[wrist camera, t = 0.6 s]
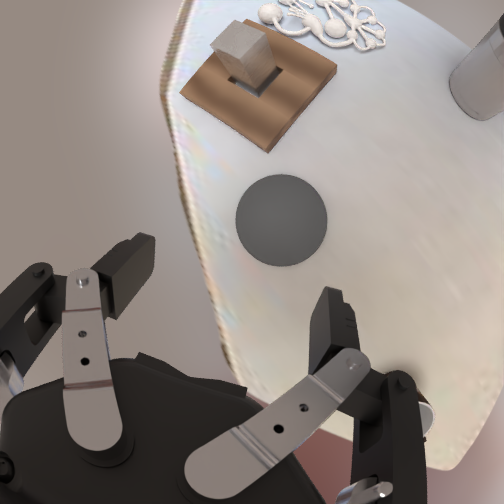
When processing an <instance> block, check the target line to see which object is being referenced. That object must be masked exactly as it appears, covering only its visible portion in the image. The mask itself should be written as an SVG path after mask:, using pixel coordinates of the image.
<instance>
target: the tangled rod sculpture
mask: <svg viewBox="0 0 504 504" xmlns="http://www.w3.org/2000/svg"><path fill="white" fill-rule="evenodd" d="M278 1H279V2H281V3H282V4H285V5H289V6H290V7H291V8H289V11H293V12H295V13H296V14H291V13H287V15H288V16H296V17H300V18H302V24H303V25H304V26H305V27H306V28H304V29H302V30H300V31H297V32H291V31H286V30H284V29H283V28H282V27H281V26H280V25H279V23H278V21H280V20H281V18H282V15H283V12H282V9H281V8H280V7H279V6H278V5H276V4H272V3H267V4H264V5H262V6H261V7H260V8H259V10H258V16H259V18H260V20H261V21H263V22H265V23H268V24H273V23H274V25H275V27H276V28H277V30H279V31H280V32H281V33H283V34H285V35H291V36H298V35H302V34H304V33H306V32H308V31H309V30H311V31H312V32H313V33H314V35H316V36H317V37H319V39H320V40H321V41H322V42H323V43H324V44H326V45H328V46H330V47H342V46H346V45H349V44H351V43H353V42H354V44H355V46H356V47H357V48H358V49H360V50H368V49H369V48H371V49H373V48H375V47H376V46H385V45H386V41H385V39H384V38H385V32H386V28H385V26H384V25H383V24H382V23H380V22H379V21H377V19H376V17H375V13H374V11H373V10H372V9H371V8H369V7H367V6H358V5H357V4H356V2H355V1H354V0H351V1H352V2H353V4H352V5H351V6H350V10H351V11H352V12H354V14H353V17H352V16H350V15H348V14H346V13H345V12H343V11H342V10H341V9H340V8H339V7H337V6H336V5H335V4H334V3H333V2H337V3H339V4H340V6H341V7H348V6H349V1H348V0H315V1H316V3H317V4H318V5H320V6H323V7H325V8H326V10H327V12H328V14H329V16H330V18H331V19H330V20H328V21H327V22H326V23H325V26H324V28H325V31H326V33H327V34H328V35H329V36H331V37H334V38H340V37H343V36H344V35H345V34H346V31H347V27H346V25H345V23H344V22H343V21H341V20H339V19H334V16H333V14H332V12H331V10H330V8H329V6H330V5H331V6H332V7H334V8H335V9H336V10H337V11H338V12H340V13H341V14H342V15H343V17H344V20H345V22H346V23H347V24H348V25H349V26H350V27H351V30H350V31H348V32H347V37H348V39H349V40H347V41H344V42H340V43H332V42H330V41H328V40H326V39H325V38H324V37H323V35H322V34H323V27H322V24H321V22H320V19H319V18H318V17H317V16H316V15H313V14H309V13H308V11H306V10H304V8H303V7H302V6H301V5H299V4H298V3H297V2H296V1H297V0H278ZM298 1H300V2H302V3H304V4H306V5H308V6H309V7H310V8H313V7H314V5H313V4H308V3H306V2H304V1H302V0H298ZM293 3H295V4H296V5H298V6H299V7H300V8H301V9H302V10H300V9H297V7H293V6H292V5H291V4H293ZM360 8H367V9H369V10H370V11H371V12H372V14H373V16H368V17H367V19H364V20H359V19H357V13H358V12H360ZM296 10H298V11H300V12H298V11H296ZM301 12H303V13H304V14H303V13H301ZM300 14H301V15H303V16H304V17H302V16H300ZM305 14H307V15H305ZM366 22H368V23H369V24H371V25H375V24H376V23H378V24H379V25H381V26H382V27H383V29H384V30H383V31H382V30H376V31H374V30H372V29H370V28H368V27H366V26H364V25H362V23H366ZM361 28H362V29H364V30H366V31H368V32H371V33H373V34H375V37H376V38H378V39H382V40H383V43H382V44H378V43H376V41H375V40H374V39H371V38H369V39H368V37H367V36H366V34H365V33H364V32H363V30H362V29H361ZM355 29H358V30H359V32H360V33H361V35H362V36H363V37H364V39H365V40H366V46H367V47H366V48H361V47H360V46H359V45H358V44H357V43H356V39H357V38H358V34H357V32H355Z"/></svg>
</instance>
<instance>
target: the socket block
mask: <svg viewBox="0 0 504 504" xmlns="http://www.w3.org/2000/svg"><path fill="white" fill-rule="evenodd" d="M243 23H244V24H246V25H248V26H251V27H253V28H255V29H258V30H260V31H262V32H264V33H265V34H266V37H267V39H268V42H269V46H270V49H271V52H272V55H273V58H274V61H275V64H276V67H277V71H278V73H279V76H278V77H277V78H276V79H275V80H274V81H273V82H272V83H271V85H270V86H269V87H268V88H267V89H266V90H265V91H264V93H263V94H262V95H261V96H260V97H259V98H257V97H255V96H254V95H252V94H250V93H249V92H247V91H245V90H244V89H242V88H240V87H238V86H237V85H235V81H234V79H233V78H232V76H231V75H230V73H229V72H228V70H227V69H226V68H225V66H224V65H223V63H222V62H221V60H220V59H219V57H218V56H217V54H216V53H215V52H213V54H212V55H211V56H210V57H209V58H208V59H207V60H206V61H205V62H204V64H203V65H202V66H201V67H200V68H199V69H198V70H197V72H196V73H195V74H194V75H193V76H192V77H191V79H190V80H189V81H188V82H187V84H186V85H185V86H184V87H183V88H182V90H181V91H180V92H179V93H180V94H181V95H183V96H184V97H185V98H186V99H188V100H190V101H191V102H193V103H194V104H196V105H198V106H199V107H201V108H202V109H204V110H205V111H207V112H209V113H210V114H212V115H213V116H215V117H216V118H218V119H219V120H221V121H222V122H224V123H225V124H227V125H228V126H230V127H231V128H233V129H234V130H236V131H237V132H239V133H240V134H241V135H243V136H244V137H246V138H247V139H249V140H250V141H251V142H253V143H254V144H256V145H257V146H259V147H260V148H261V149H263V150H264V151H265V152H267V153H269V152H270V151H271V149H272V148H273V147H274V146H275V144H276V143H277V142H278V141H279V140H280V138H281V137H282V136H283V135H284V133H285V132H286V131H287V130H288V129H289V127H290V126H291V125H292V124H293V123H294V121H295V120H296V119H297V118H298V117H299V115H300V114H301V113H302V112H303V111H304V109H305V108H306V107H307V106H308V105H309V104H310V102H311V101H312V100H313V99H314V98H315V97H316V95H317V94H318V93H319V92H320V91H321V90H322V88H323V87H324V86H325V85H326V84H327V83H328V82H329V80H330V79H331V78H332V77H333V76H334V75H335V74H336V71H337V64H335V63H334V62H332V61H330V60H329V59H327V58H325V57H324V56H322V55H320V54H318V53H317V52H315V51H313V50H311V49H309V48H308V47H306V46H304V45H302V44H300V43H298V42H296V41H294V40H292V39H290V38H288V37H286V36H284V35H282V34H280V33H278V32H276V31H274V30H271V29H269V28H267V27H265V26H262V25H260V24H258V23H255V22H253V21H251V20H248V19H246V20H245V21H244V22H243Z"/></svg>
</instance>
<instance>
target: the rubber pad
mask: <svg viewBox="0 0 504 504" xmlns="http://www.w3.org/2000/svg"><path fill="white" fill-rule="evenodd" d="M326 228H327V214H326V209H325V206H324V203H323V201H322V199H321V197H320V196H319V194H318V193H317V191H316V190H315V189H314V188H313V187H312V186H311V185H310V184H308V183H307V182H305V181H304V180H302V179H300V178H297V177H294V176H290V175H282V174H281V175H272V176H268V177H265V178H263V179H260V180H258V181H257V182H255V183H254V184H253V185H252V186H250V187H249V188H248V189H247V191H246V192H245V193H244V195H243V196H242V198H241V200H240V202H239V204H238V207H237V212H236V229H237V233H238V236H239V239H240V241H241V243H242V244H243V246H244V247H245V249H246V250H247V251H248V252H249V253H250V254H251V255H252V256H253V257H255V258H256V259H257V260H259V261H261V262H263V263H266V264H268V265H272V266H291V265H295V264H298V263H300V262H302V261H304V260H306V259H307V258H309V257H310V256H311V255H312V254H313V253H314V252H315V251H316V250H317V249H318V247H319V246H320V244H321V243H322V241H323V238H324V236H325V232H326Z"/></svg>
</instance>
